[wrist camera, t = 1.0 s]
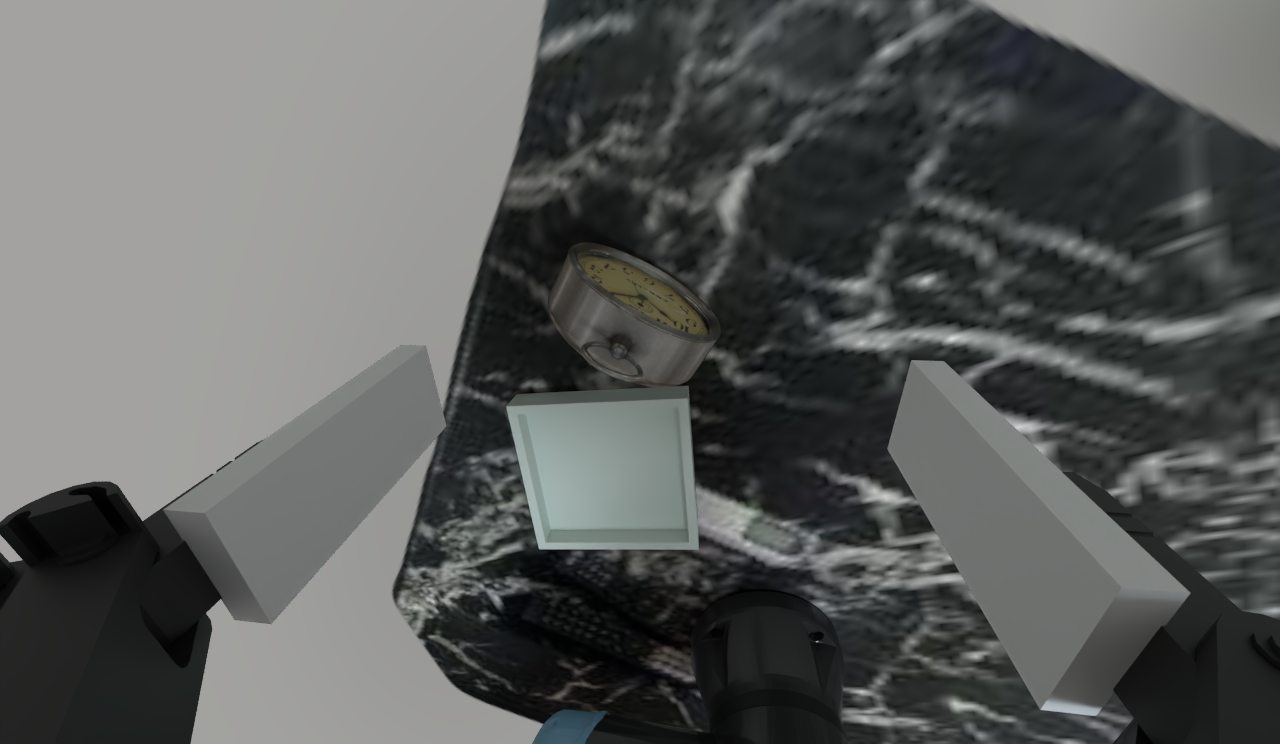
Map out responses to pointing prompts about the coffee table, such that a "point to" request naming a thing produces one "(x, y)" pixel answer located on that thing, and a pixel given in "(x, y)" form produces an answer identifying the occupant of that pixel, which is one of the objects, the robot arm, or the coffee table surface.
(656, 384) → the alarm clock
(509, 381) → the coffee table surface
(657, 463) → the tray
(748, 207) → the coffee table surface
